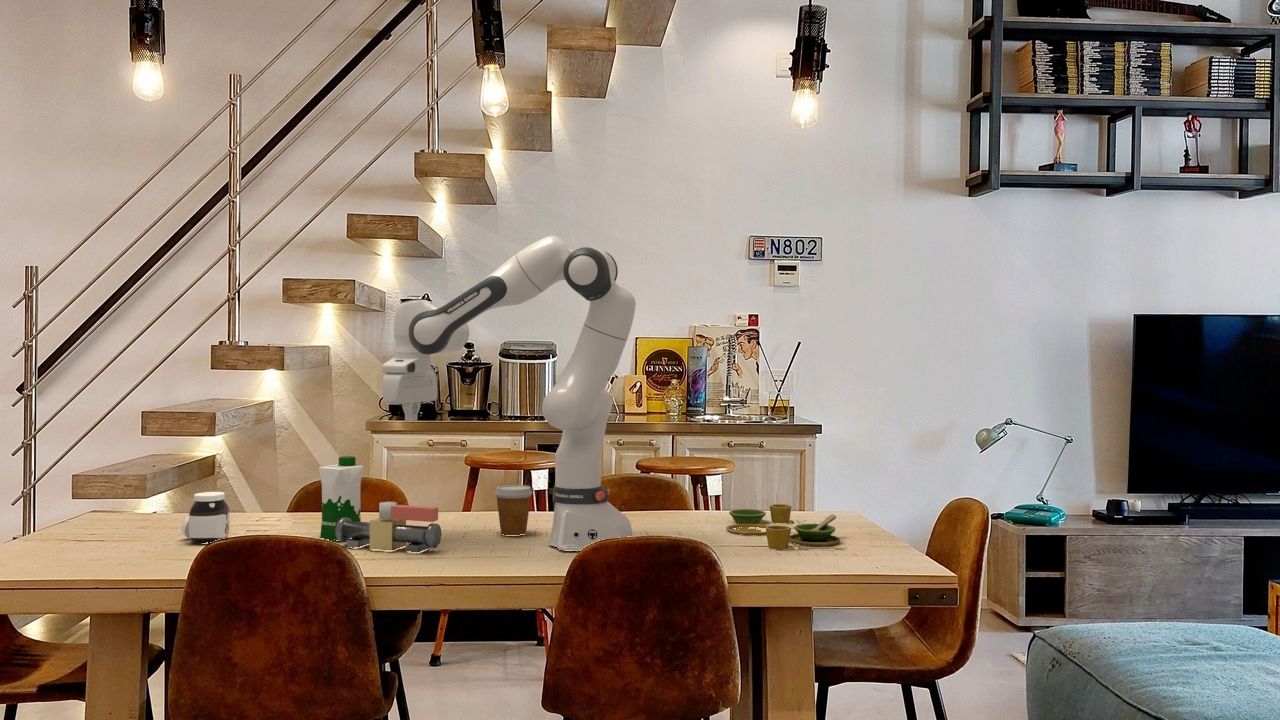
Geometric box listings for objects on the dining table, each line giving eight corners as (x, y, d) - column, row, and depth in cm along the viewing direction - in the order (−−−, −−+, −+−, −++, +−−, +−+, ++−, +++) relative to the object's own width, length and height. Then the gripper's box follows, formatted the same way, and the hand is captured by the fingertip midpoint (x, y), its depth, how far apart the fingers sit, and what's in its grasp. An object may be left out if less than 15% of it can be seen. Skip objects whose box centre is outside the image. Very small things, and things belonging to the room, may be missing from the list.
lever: (375, 518, 223) (375, 503, 223) (385, 516, 227) (385, 501, 227) (431, 522, 219) (431, 507, 219) (439, 519, 223) (439, 504, 223)
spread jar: (216, 545, 228) (216, 497, 228) (168, 545, 228) (168, 496, 228) (237, 535, 240) (237, 489, 240) (192, 535, 240) (192, 489, 240)
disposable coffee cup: (535, 531, 247) (535, 485, 247) (527, 538, 238) (527, 490, 238) (499, 530, 248) (499, 484, 248) (490, 537, 239) (490, 489, 239)
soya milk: (367, 537, 239) (367, 457, 239) (340, 543, 231) (340, 461, 231) (341, 533, 243) (341, 455, 243) (313, 540, 235) (313, 458, 235)
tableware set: (848, 554, 224) (848, 527, 224) (730, 552, 226) (730, 526, 226) (823, 522, 266) (823, 499, 266) (723, 520, 267) (723, 498, 267)
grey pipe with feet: (441, 550, 224) (442, 520, 223) (428, 555, 218) (428, 525, 218) (349, 543, 231) (349, 514, 231) (334, 548, 226) (334, 518, 226)
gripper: (422, 364, 247) (421, 417, 247) (378, 365, 227) (377, 423, 227) (443, 364, 245) (443, 418, 245) (401, 366, 225) (400, 424, 225)
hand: (411, 421), depth 236 cm, fingers closed
